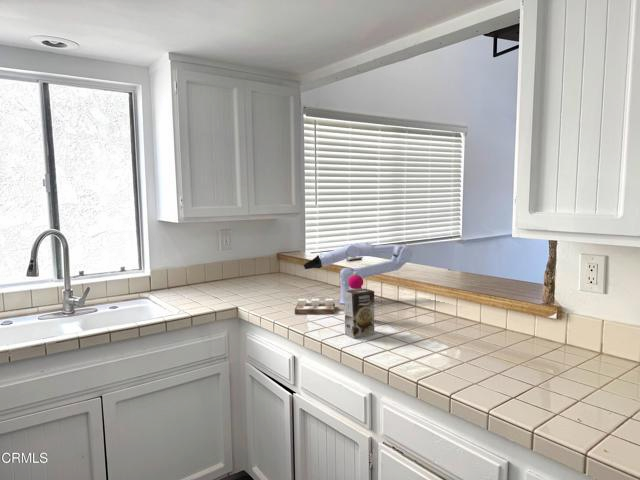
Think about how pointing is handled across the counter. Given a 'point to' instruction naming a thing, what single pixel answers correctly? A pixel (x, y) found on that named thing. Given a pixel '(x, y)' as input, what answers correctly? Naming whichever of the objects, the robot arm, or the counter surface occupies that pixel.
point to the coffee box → (359, 313)
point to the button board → (315, 309)
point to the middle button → (315, 302)
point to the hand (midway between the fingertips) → (304, 266)
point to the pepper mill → (355, 282)
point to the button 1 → (301, 302)
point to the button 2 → (328, 302)
